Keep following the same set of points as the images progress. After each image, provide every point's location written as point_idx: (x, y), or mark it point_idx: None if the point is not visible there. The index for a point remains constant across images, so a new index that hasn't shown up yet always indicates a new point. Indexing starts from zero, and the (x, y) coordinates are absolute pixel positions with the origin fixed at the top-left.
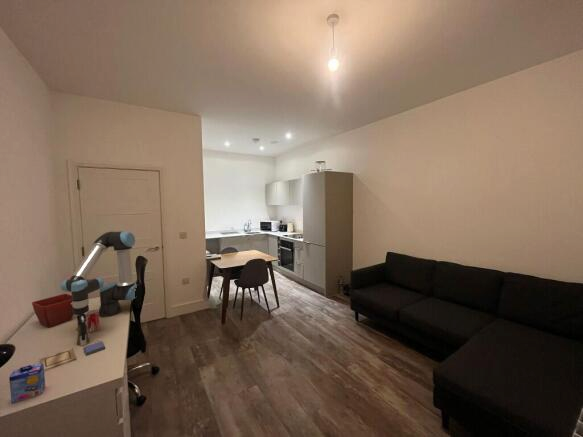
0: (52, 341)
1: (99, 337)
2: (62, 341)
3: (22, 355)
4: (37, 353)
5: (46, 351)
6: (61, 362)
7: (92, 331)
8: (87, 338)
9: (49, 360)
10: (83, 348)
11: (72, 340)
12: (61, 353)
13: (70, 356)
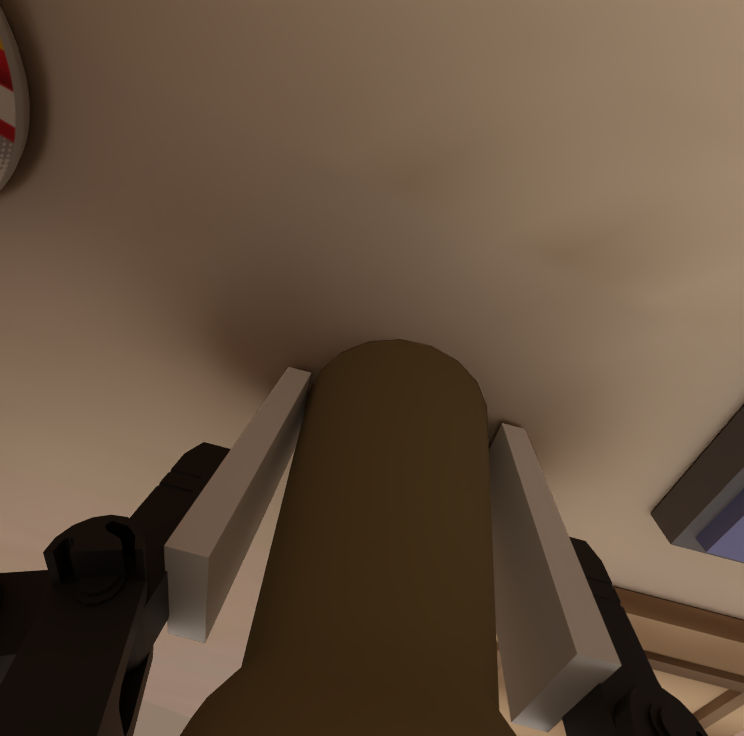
0: (9, 543)
1: (486, 152)
2: (91, 508)
3: (157, 692)
4: (216, 663)
5: (239, 635)
6: (714, 726)
7: (24, 128)
8: (480, 439)
9: (523, 726)
10: (695, 547)
11: (158, 452)
12: (498, 665)
13: (719, 680)
